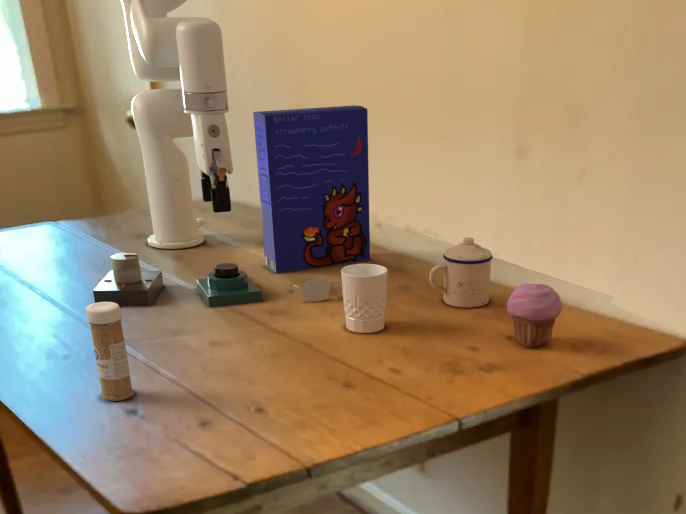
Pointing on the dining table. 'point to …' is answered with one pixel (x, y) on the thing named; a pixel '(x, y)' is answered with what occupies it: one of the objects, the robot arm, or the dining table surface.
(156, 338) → the dining table surface
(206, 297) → the button housing
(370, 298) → the white cup
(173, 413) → the dining table surface
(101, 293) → the dial panel
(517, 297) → the cupcake
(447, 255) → the teacup with lid
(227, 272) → the black button
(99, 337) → the sprinkles bottle
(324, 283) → the eyeglasses
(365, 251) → the cereal box
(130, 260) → the dial
